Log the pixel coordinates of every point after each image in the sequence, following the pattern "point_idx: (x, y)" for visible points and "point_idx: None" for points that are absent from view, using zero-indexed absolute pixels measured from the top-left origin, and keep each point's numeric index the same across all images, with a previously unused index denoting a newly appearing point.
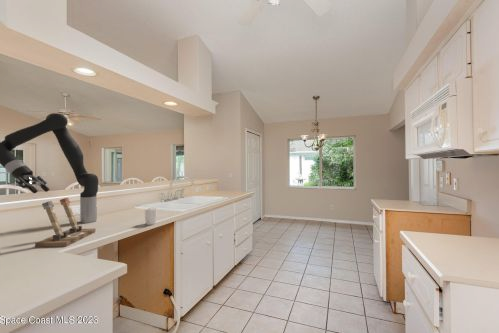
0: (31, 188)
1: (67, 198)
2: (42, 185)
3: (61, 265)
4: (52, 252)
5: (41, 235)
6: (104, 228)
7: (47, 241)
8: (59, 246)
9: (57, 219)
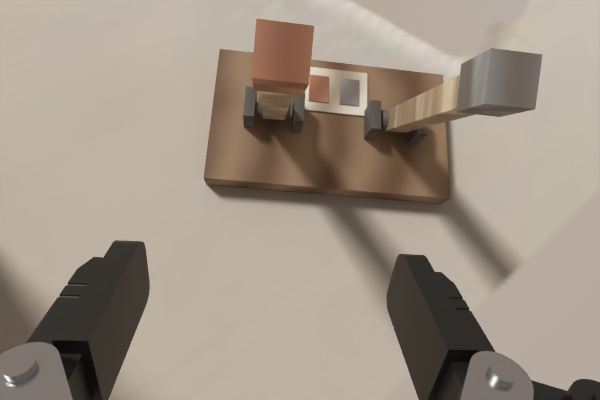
0: (473, 333)
1: (272, 24)
2: (80, 383)
3: (595, 19)
4: None
5: (237, 313)
6: (151, 43)
7: (428, 159)
8: None
9: (422, 94)
